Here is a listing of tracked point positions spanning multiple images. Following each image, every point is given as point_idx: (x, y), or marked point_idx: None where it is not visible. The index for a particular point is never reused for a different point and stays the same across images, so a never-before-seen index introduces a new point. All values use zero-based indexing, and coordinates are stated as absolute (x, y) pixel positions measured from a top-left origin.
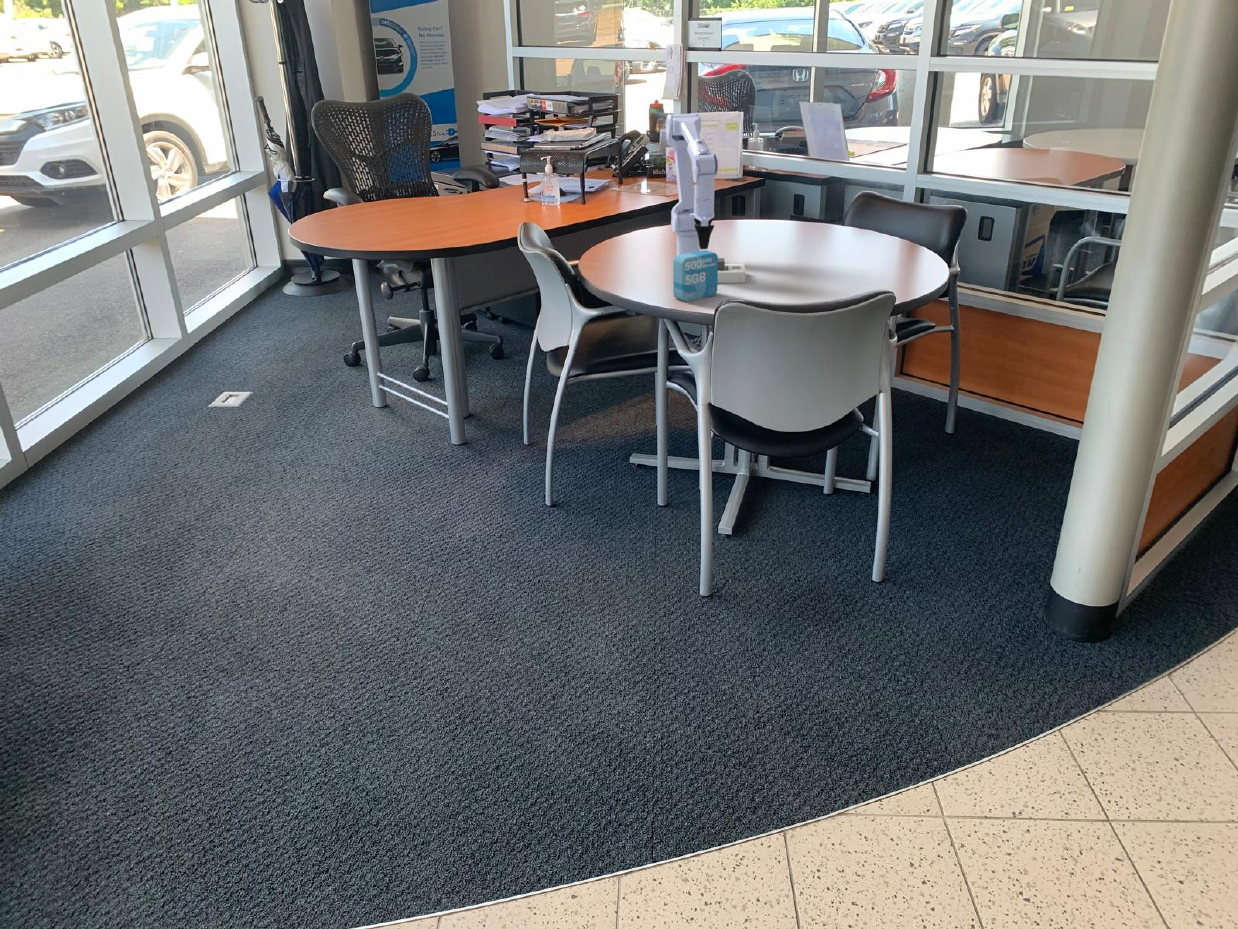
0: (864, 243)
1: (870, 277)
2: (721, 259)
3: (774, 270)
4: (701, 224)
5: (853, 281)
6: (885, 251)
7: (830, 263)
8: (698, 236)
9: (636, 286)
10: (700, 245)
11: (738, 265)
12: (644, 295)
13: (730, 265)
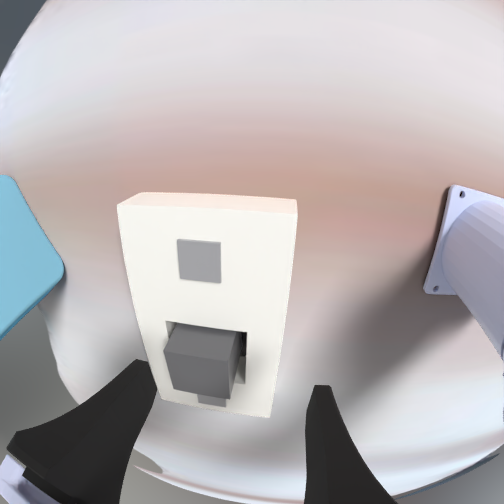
0: (407, 483)
1: (226, 483)
2: (207, 388)
3: (291, 436)
4: (3, 461)
5: (203, 471)
6: None
7: None
8: (73, 409)
9: (110, 16)
10: (121, 374)
11: (245, 405)
12: (28, 79)
13: (247, 390)
